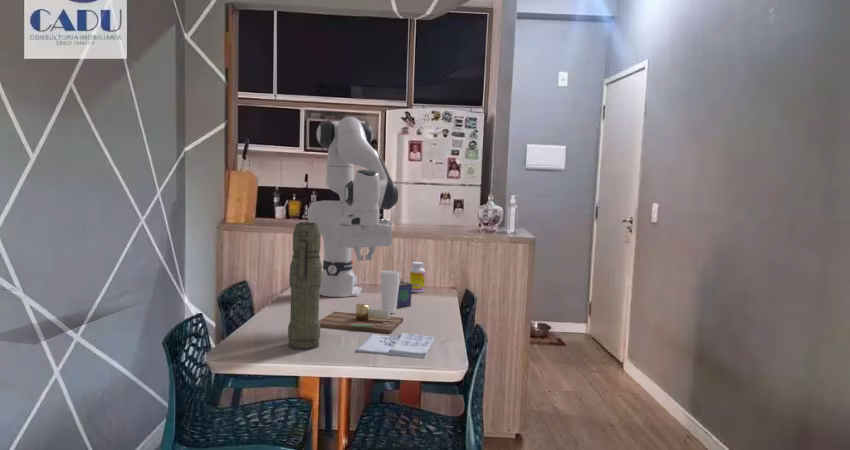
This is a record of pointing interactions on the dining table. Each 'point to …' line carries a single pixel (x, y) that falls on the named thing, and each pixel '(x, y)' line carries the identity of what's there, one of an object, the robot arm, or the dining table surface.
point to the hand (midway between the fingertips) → (364, 260)
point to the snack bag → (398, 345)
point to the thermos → (305, 287)
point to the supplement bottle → (417, 277)
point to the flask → (404, 294)
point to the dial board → (360, 323)
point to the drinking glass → (389, 290)
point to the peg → (370, 313)
